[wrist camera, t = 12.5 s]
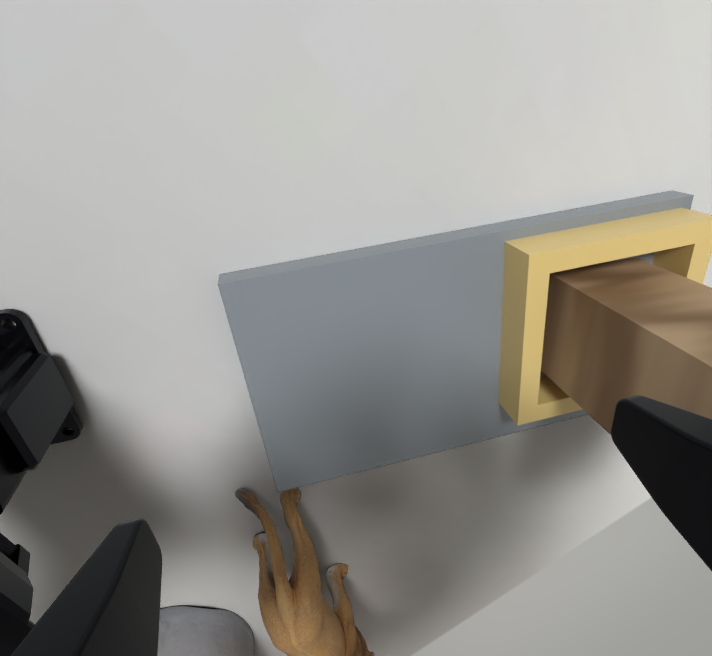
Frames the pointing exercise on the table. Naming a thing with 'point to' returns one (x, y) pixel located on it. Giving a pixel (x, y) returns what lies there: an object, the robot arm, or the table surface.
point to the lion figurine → (301, 590)
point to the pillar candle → (203, 633)
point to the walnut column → (629, 337)
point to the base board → (428, 333)
